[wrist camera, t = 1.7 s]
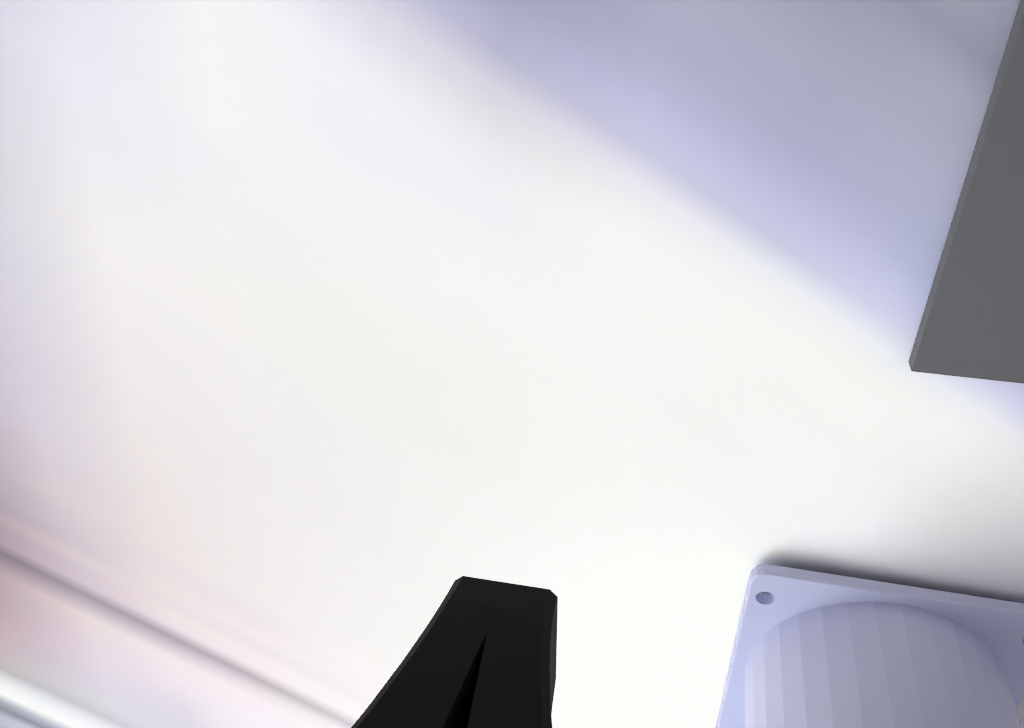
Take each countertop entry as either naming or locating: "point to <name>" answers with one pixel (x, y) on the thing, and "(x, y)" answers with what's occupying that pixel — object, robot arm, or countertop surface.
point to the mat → (984, 247)
